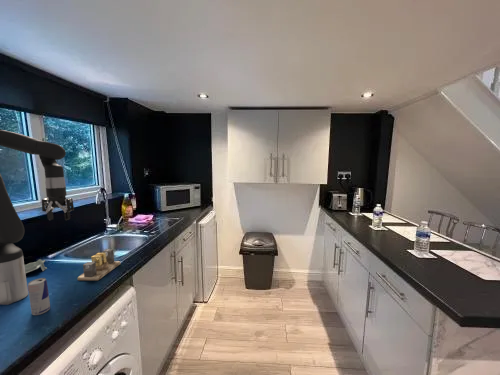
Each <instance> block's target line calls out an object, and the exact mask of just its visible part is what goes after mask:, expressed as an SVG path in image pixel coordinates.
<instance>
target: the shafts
mask: <svg viewBox="0 0 500 375" xmlns="http://www.w3.org/2000/svg"><path fill="white" fill-rule="evenodd" d="M106 249H107V251H109V250H111V249H112V248H106ZM105 253H106V257H107V256H108V252H105ZM91 262H96V261H95V260H94V261H92V260H91ZM96 263H97V262H96ZM85 268H86V269H89V265H86V266H85Z"/></svg>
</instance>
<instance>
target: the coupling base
mask: <svg viewBox="0 0 500 375" xmlns="http://www.w3.org/2000/svg"><path fill="white" fill-rule="evenodd" d="M107 249H108V248H106V249H104V250H103V251H102V252H101V253H105V252H108V256H107V257H106V263H102V265H101V266H96V262H92V261H86V263H84V264H82V267H83V268H82V270H83V273H81V274H80V275H79V276H78V277H77V281H99V280H101V279H102V278H103V277H104V276H106V275H107V274H109V273H111V272H112V271H113V270H114V269H115V268H117V267H118V266H120V265H121V261H119V260H115V253H114V249H112V248H110V249H111V250H109V251H107ZM86 265H89V269H86V268H85V266H86Z"/></svg>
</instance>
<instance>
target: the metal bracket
mask: <svg viewBox="0 0 500 375" xmlns="http://www.w3.org/2000/svg"><path fill="white" fill-rule="evenodd" d="M45 262H46V260H42V259H37V261H34V262H29V263H27V264H24V266H25V273H26V274H28V273H30V272H33V271H35V270H38V269H39V268H40V269H41V270H42V272H44V271H45V270H47V269H48V268H47V267H46V266H45V264H44V263H45Z"/></svg>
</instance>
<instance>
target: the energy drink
mask: <svg viewBox="0 0 500 375" xmlns="http://www.w3.org/2000/svg"><path fill="white" fill-rule="evenodd" d="M27 287H28V298H29V304H30V311H31V315H33V316H40V315H43V314H45V313H47V312H48V311H49V310H50V309H51V303H50V296H49V288H48V280H47V278H45V277H40V278H36V279H33V280H31V281H29V282H27Z"/></svg>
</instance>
